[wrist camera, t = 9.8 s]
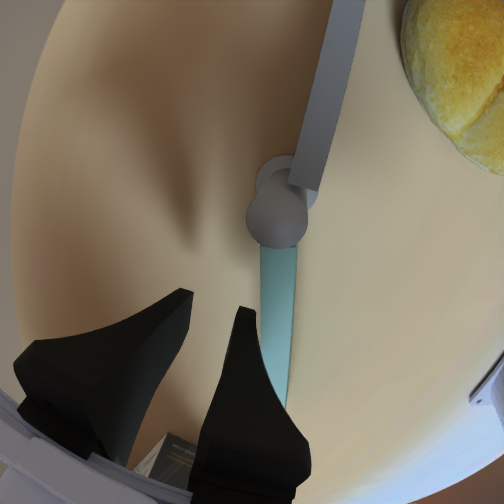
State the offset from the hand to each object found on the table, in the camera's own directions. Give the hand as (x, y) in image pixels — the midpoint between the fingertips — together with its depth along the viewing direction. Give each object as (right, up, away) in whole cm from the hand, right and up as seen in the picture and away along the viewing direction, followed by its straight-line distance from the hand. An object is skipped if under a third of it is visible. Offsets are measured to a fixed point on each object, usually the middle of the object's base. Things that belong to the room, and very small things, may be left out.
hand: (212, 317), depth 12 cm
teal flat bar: (+3, 0, +2) cm, 4 cm away
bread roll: (+12, +11, -3) cm, 17 cm away
